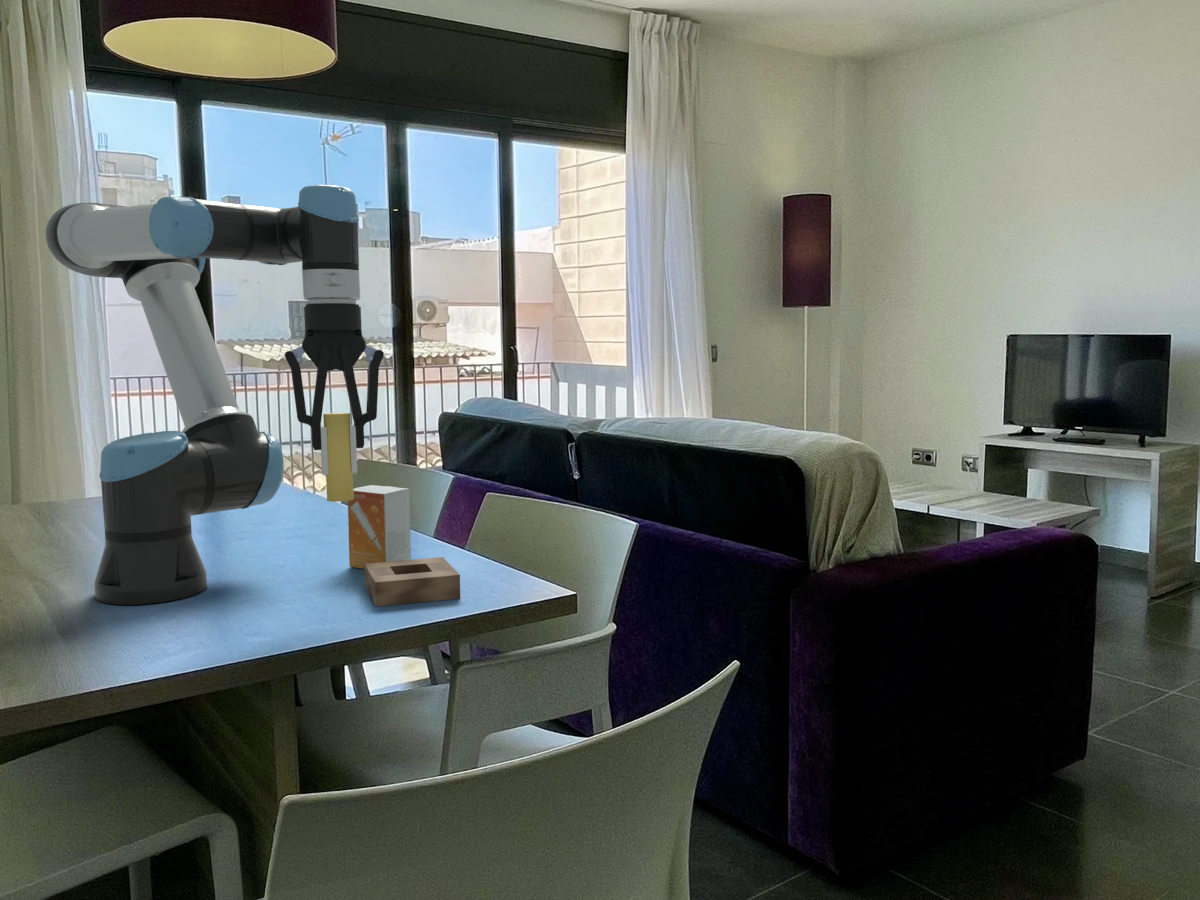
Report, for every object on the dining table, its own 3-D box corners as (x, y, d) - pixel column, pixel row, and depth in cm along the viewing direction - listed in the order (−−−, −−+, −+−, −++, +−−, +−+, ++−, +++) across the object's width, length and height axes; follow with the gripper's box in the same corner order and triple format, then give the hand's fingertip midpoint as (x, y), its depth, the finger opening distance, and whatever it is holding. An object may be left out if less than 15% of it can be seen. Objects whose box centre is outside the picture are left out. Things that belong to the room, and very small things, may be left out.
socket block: (376, 606, 136) (375, 582, 136) (365, 586, 148) (364, 563, 147) (460, 598, 141) (459, 574, 140) (443, 579, 152) (443, 557, 151)
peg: (327, 502, 133) (324, 415, 132) (326, 498, 137) (322, 413, 136) (354, 500, 135) (351, 414, 133) (352, 497, 138) (349, 412, 137)
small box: (348, 567, 159) (346, 489, 158) (375, 560, 165) (373, 484, 163) (386, 573, 155) (384, 493, 154) (412, 565, 161) (410, 487, 159)
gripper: (269, 301, 127) (278, 479, 129) (395, 301, 132) (401, 472, 135) (269, 303, 134) (278, 472, 137) (389, 303, 139) (395, 466, 142)
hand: (339, 472), depth 136 cm, fingers closed on peg, 3 cm apart
